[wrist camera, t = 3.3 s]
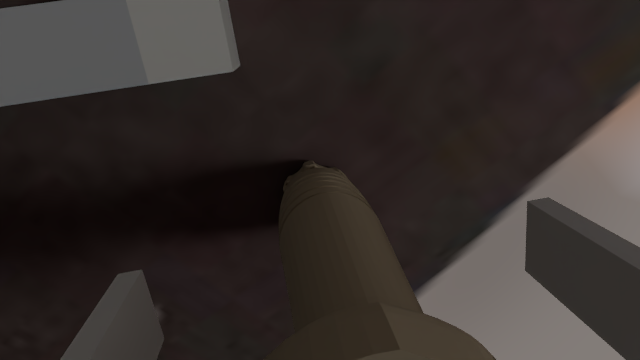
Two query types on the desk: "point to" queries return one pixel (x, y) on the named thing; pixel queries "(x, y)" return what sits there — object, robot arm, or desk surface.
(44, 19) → the socket
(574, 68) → the desk surface
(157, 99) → the desk surface
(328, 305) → the handle
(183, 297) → the desk surface
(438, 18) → the desk surface
